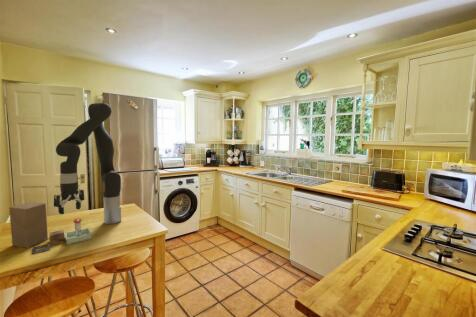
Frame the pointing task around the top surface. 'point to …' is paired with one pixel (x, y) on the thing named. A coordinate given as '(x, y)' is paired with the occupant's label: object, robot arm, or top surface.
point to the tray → (72, 238)
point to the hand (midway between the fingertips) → (70, 211)
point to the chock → (56, 237)
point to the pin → (77, 227)
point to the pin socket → (41, 249)
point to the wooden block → (28, 224)
